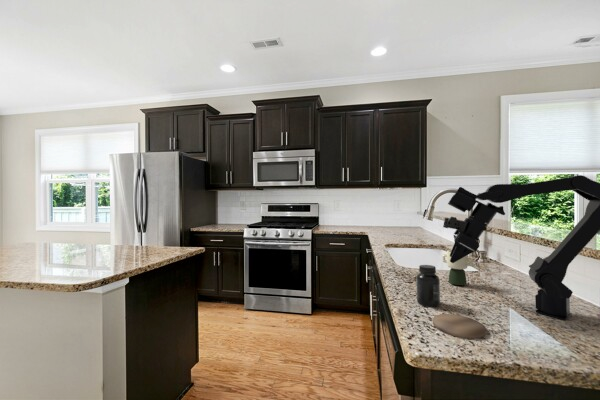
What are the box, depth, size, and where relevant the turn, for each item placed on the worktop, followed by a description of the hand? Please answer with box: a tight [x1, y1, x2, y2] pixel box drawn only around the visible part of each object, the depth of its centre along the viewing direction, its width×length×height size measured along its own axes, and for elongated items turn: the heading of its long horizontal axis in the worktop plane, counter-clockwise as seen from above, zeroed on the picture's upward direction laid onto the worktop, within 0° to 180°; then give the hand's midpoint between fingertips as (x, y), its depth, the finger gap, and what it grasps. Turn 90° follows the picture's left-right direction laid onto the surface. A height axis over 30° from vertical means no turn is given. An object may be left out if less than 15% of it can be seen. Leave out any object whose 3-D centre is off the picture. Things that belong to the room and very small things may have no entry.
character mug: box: [442, 249, 474, 286], centre depth 107 cm, size 11×7×13 cm, turn 42°
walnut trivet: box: [432, 313, 487, 339], centre depth 71 cm, size 12×12×1 cm
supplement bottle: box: [415, 264, 441, 308], centre depth 87 cm, size 7×7×12 cm
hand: (451, 259), depth 91 cm, fingers open, 9 cm apart
